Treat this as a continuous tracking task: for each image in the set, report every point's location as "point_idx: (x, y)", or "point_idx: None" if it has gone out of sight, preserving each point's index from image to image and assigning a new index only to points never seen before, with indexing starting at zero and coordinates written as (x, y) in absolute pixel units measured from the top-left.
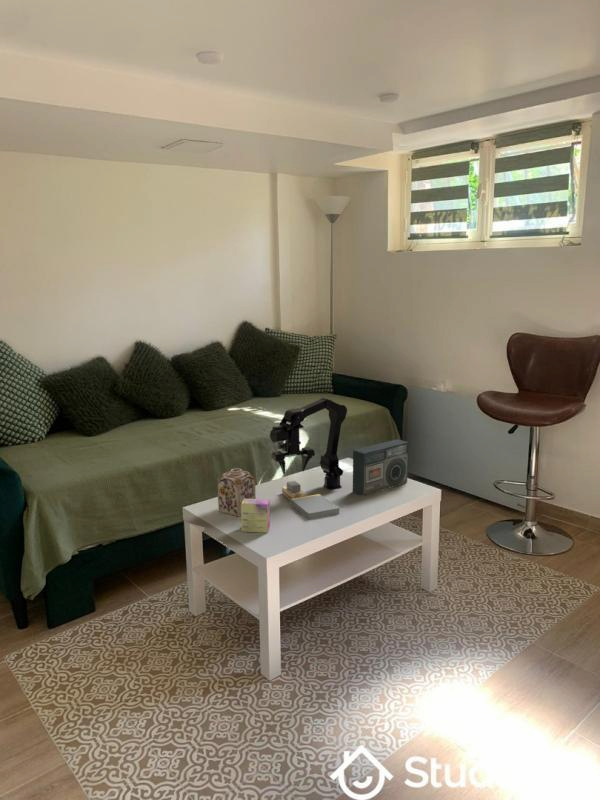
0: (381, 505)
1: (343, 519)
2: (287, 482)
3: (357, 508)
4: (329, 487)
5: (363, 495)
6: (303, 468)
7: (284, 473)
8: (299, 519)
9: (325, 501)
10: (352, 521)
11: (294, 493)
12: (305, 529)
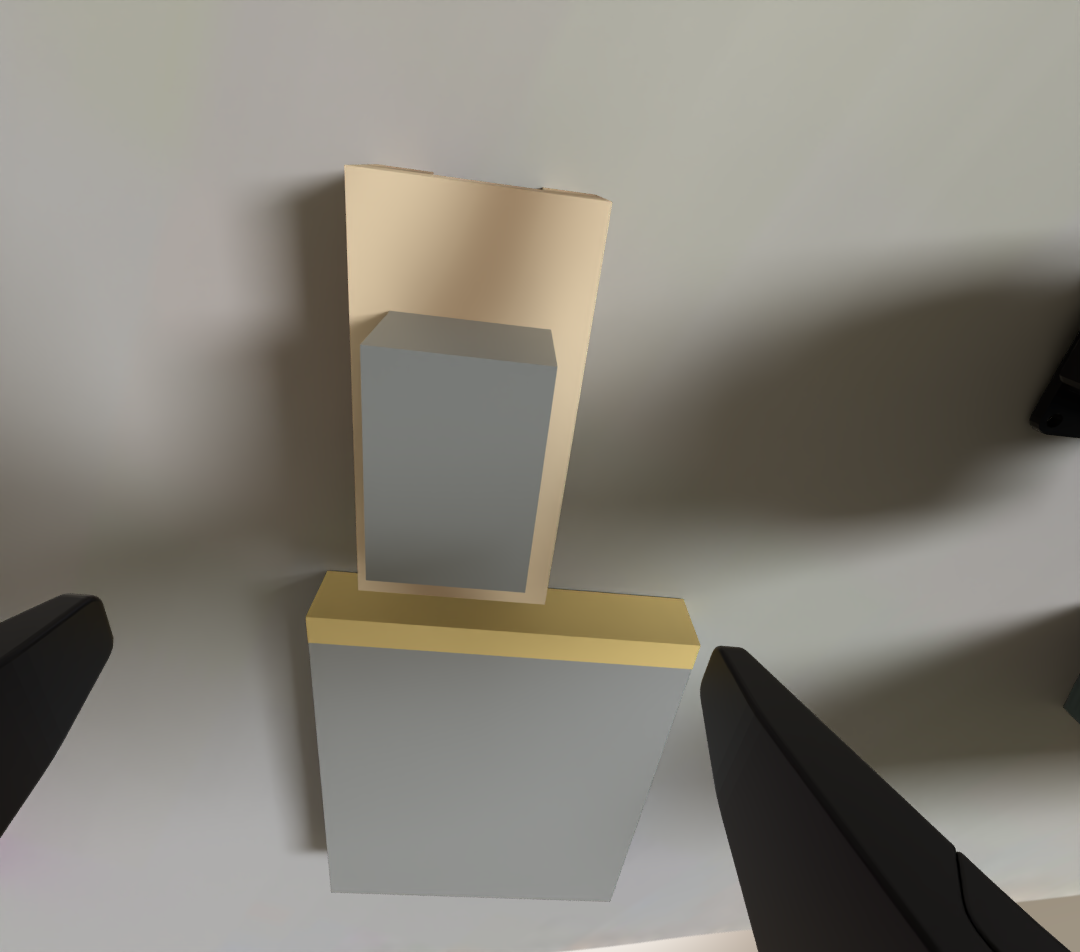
0: None
1: (564, 905)
2: (365, 374)
3: None
4: (1072, 394)
5: (1071, 709)
6: (721, 799)
7: (84, 675)
8: (275, 817)
9: (607, 794)
10: (592, 934)
11: None
12: (255, 915)
